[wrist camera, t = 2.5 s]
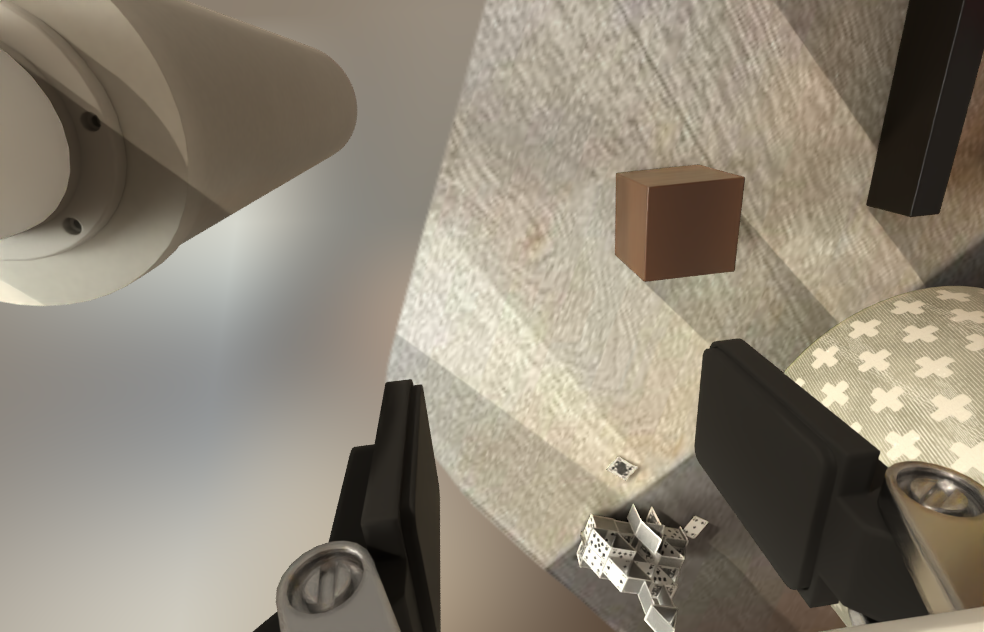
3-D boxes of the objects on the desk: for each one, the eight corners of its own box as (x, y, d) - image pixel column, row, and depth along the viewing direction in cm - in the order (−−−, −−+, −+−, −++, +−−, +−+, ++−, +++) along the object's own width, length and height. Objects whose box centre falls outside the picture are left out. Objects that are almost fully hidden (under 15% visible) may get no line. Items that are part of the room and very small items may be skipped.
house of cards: (731, 476, 36) (800, 565, 28) (684, 569, 39) (736, 672, 31) (610, 454, 34) (652, 542, 27) (571, 552, 37) (599, 656, 30)
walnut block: (614, 255, 29) (644, 282, 24) (615, 172, 27) (647, 187, 23) (692, 246, 29) (734, 271, 25) (699, 164, 27) (745, 176, 23)
